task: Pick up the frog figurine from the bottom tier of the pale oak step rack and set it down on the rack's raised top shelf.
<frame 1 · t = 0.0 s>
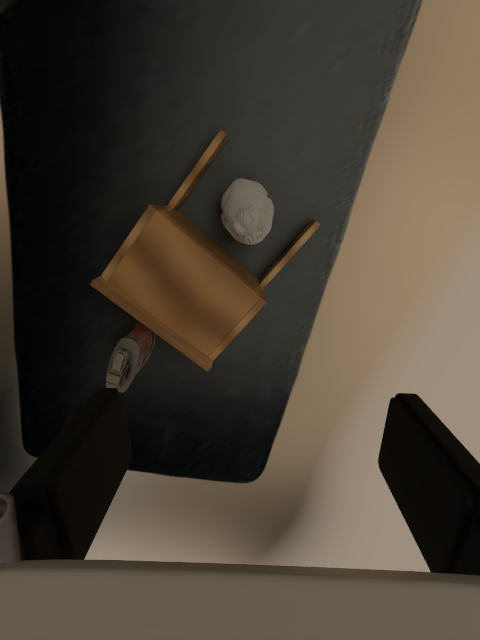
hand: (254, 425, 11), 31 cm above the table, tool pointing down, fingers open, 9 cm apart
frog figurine: (247, 211, 38), on the table
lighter: (143, 341, 44), on the table
step rack: (219, 246, 39), on the table
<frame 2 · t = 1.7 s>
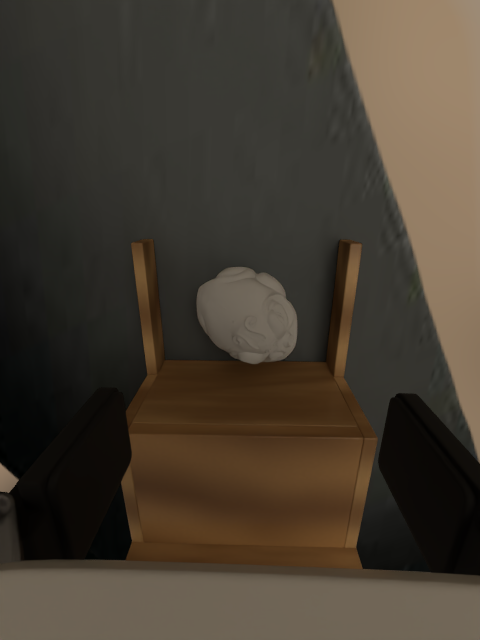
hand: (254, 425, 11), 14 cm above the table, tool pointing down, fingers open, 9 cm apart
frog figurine: (245, 297, 24), on the table
step rack: (245, 360, 26), on the table
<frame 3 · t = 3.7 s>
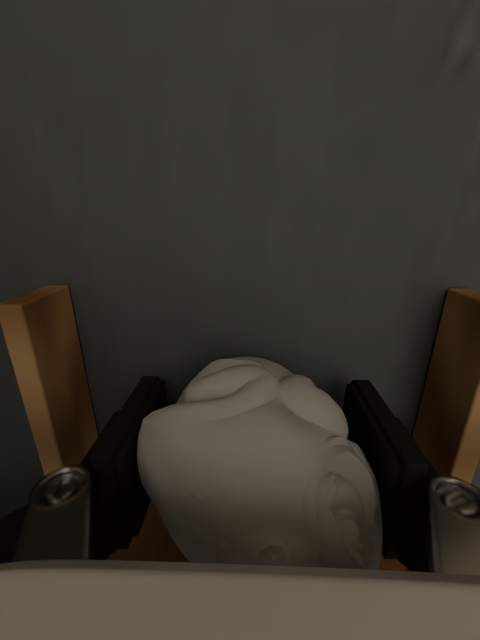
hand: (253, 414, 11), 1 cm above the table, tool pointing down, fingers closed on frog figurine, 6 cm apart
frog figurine: (252, 390, 13), on the table, touching gripper
step rack: (250, 492, 14), on the table
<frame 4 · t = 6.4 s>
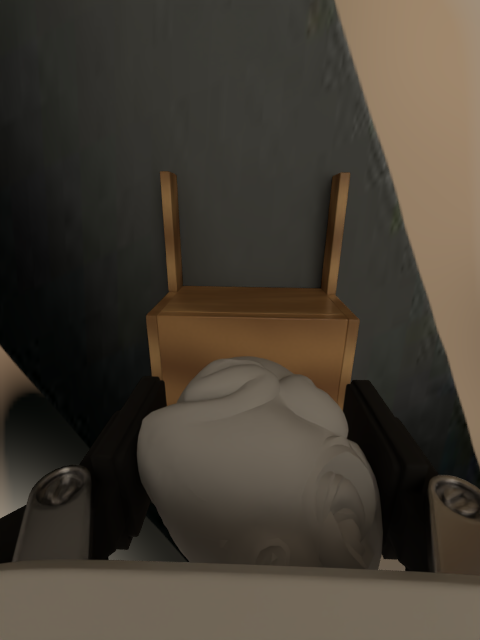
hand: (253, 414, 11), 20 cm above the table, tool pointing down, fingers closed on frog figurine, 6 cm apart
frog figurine: (252, 390, 13), point 18 cm above the table, touching gripper
step rack: (251, 287, 30), on the table
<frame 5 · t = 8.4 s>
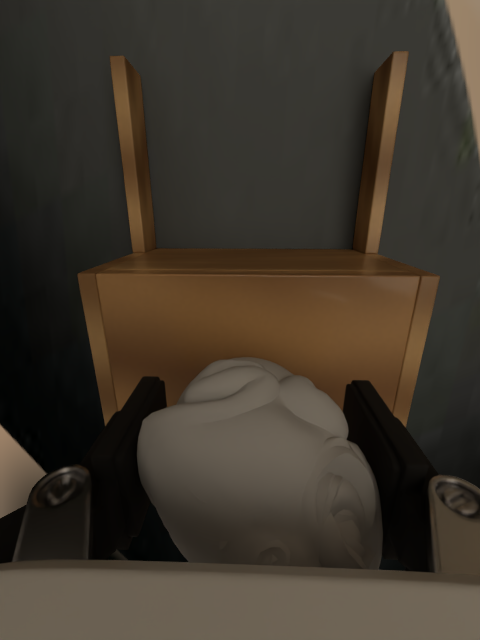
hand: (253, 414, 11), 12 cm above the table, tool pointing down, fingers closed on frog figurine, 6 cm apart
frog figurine: (252, 391, 13), point 11 cm above the table, touching gripper
step rack: (253, 248, 21), on the table
when the fingers open (10 cm above the table, at t = 9.5 s): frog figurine stays where it is, resting on step rack.
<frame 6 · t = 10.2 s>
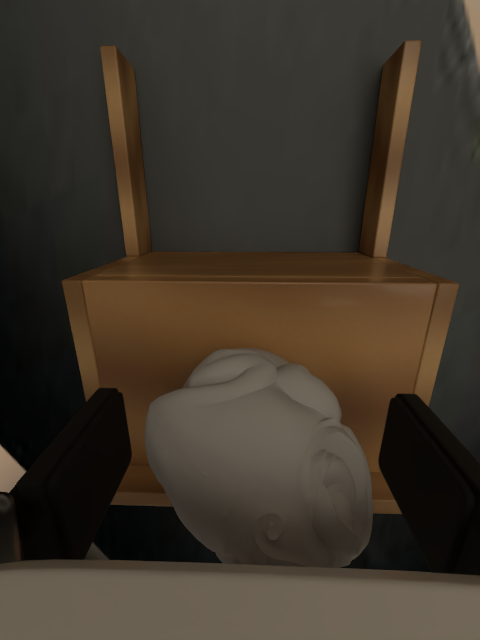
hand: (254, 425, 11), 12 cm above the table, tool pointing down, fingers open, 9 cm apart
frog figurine: (252, 382, 13), point 9 cm above the table, touching step rack
step rack: (254, 251, 20), on the table
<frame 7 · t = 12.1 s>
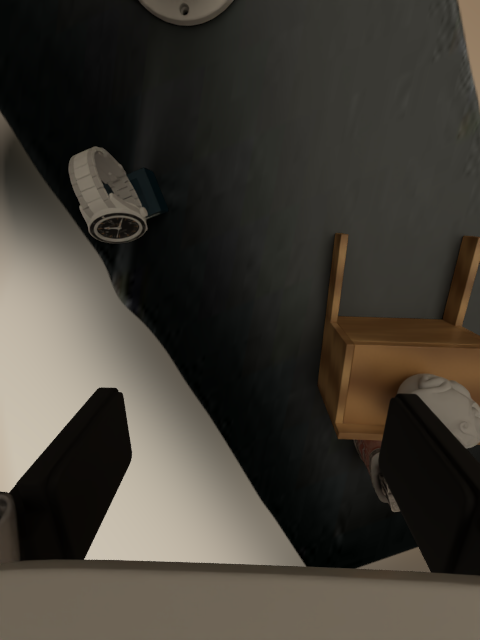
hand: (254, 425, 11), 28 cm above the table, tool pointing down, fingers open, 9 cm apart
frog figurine: (414, 386, 31), point 9 cm above the table, touching step rack
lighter: (364, 435, 44), on the table
watch: (140, 201, 35), on the table
step rack: (386, 317, 38), on the table
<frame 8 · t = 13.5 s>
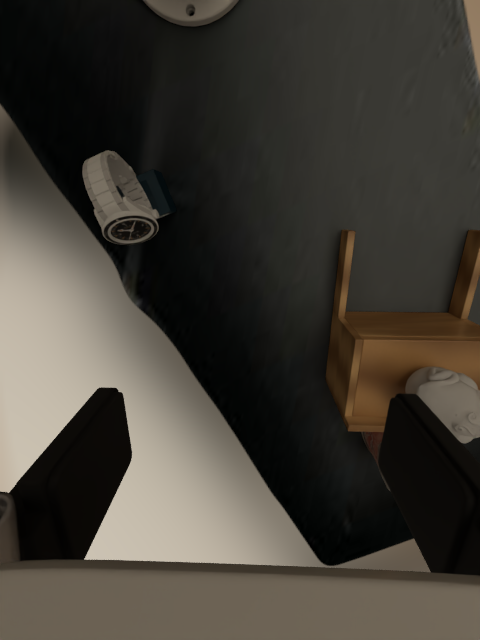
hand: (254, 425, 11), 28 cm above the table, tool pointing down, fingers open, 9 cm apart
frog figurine: (422, 379, 32), point 9 cm above the table, touching step rack
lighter: (371, 427, 45), on the table
watch: (149, 202, 35), on the table
step rack: (393, 311, 38), on the table
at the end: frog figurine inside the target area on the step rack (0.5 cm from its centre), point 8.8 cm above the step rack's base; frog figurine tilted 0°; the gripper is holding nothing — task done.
